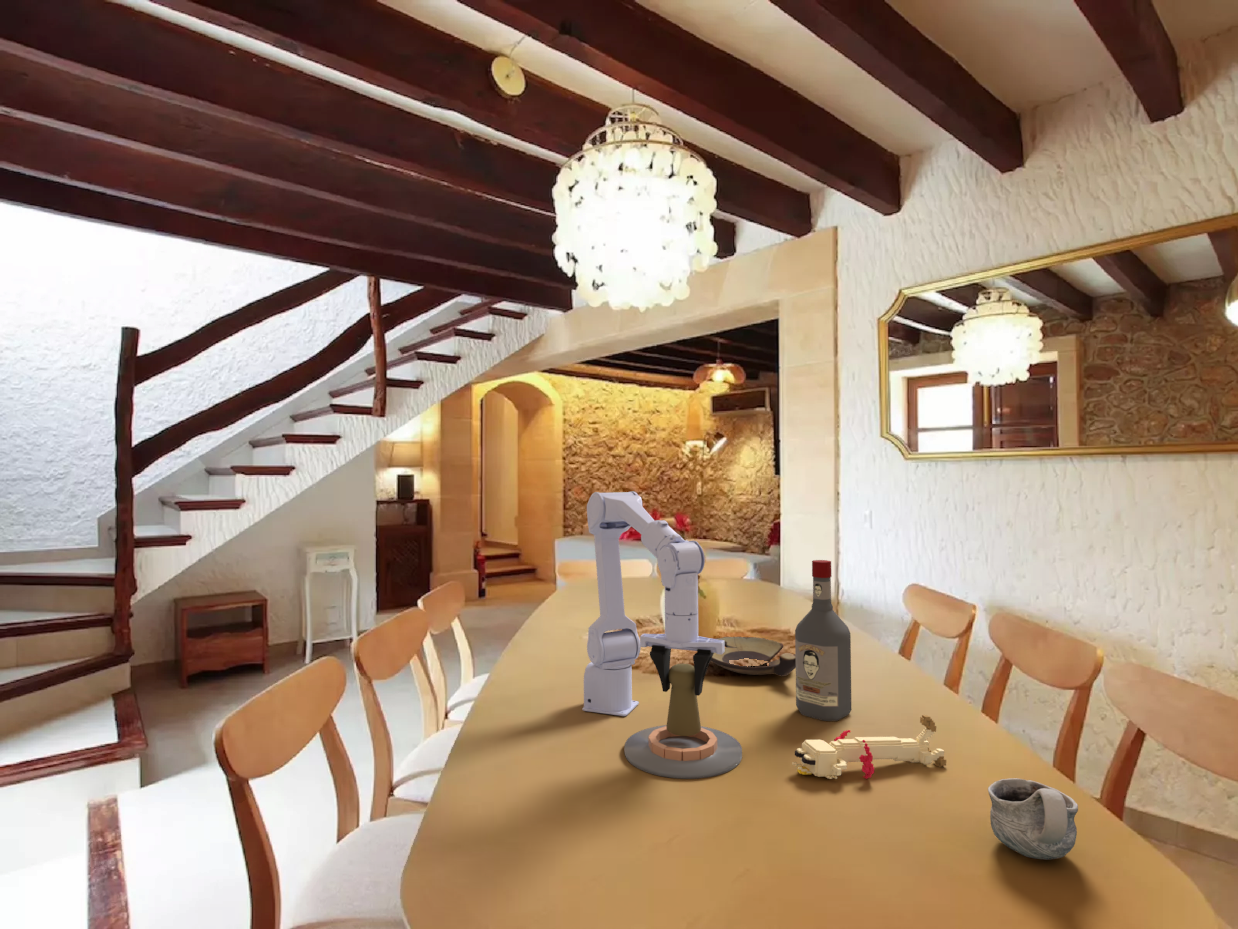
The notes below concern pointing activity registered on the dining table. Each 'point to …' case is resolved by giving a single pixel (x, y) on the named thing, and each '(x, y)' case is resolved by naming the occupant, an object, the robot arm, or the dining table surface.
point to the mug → (1033, 818)
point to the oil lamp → (754, 656)
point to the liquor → (823, 654)
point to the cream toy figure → (866, 752)
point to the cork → (683, 702)
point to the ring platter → (683, 753)
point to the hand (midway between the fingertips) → (682, 691)
